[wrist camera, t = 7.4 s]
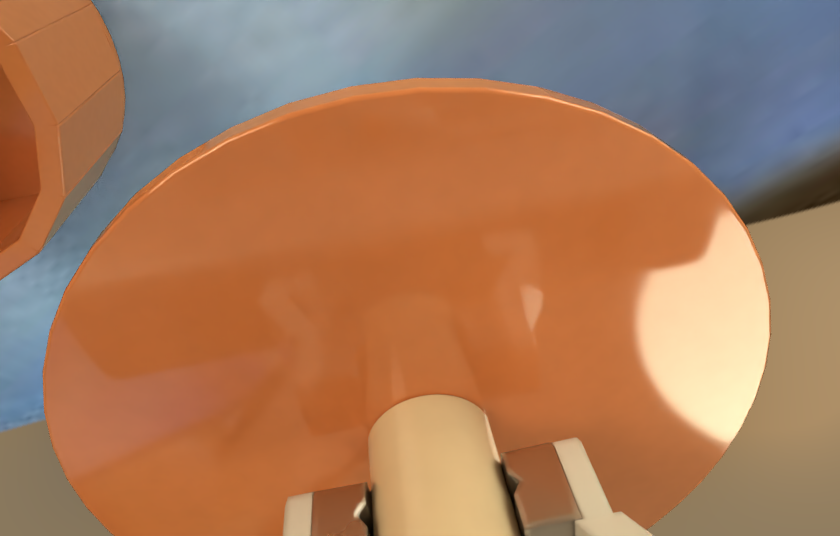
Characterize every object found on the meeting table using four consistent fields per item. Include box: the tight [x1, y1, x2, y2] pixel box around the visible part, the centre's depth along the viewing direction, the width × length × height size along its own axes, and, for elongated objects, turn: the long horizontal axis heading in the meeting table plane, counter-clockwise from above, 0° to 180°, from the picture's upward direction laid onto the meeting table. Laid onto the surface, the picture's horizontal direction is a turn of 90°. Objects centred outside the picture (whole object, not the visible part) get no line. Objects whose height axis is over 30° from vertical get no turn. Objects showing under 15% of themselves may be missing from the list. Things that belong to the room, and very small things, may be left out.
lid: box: [43, 78, 771, 536], centre depth 11 cm, size 15×15×5 cm
